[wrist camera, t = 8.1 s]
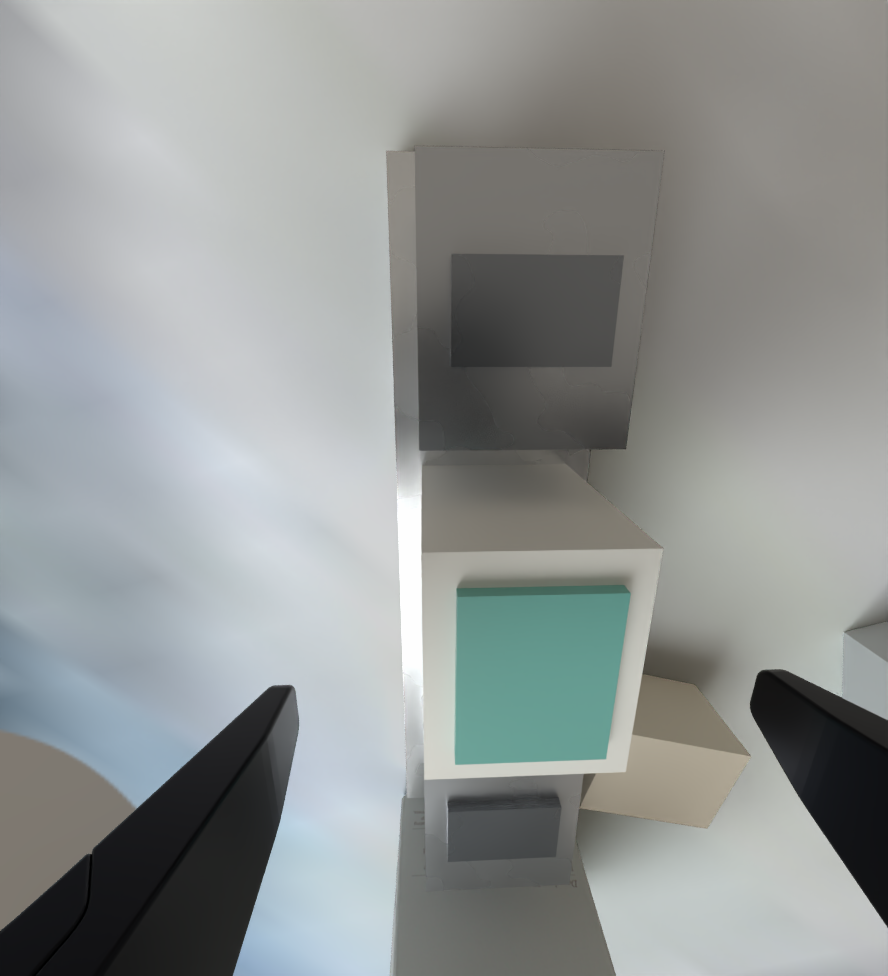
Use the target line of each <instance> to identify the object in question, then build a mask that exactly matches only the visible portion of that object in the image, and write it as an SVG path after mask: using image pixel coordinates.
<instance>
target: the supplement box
mask: <svg viewBox="0 0 888 976" xmlns="http://www.w3.org/2000/svg"><path fill="white" fill-rule="evenodd" d="M390 976H616V974H615V971H614V967H613V964H612V961H611V957H610V954H609V951H608V947H607V944H606V940H605V937H604V934H603V930H602V927H601V924H600V920H599V917H598V914H597V910H596V907H595V904H594V900H593V897H592V894H591V890H590V887H589V883H588V880H587V877H586V873H585V870H584V867H583V863H582V859H581V856H580V853H579V850H578V846H577V843H576V840H575V845H574V852H573V860H572V868H571V875H570V883H569V885H549V886H529V887H509V888H489V889H469V890H449V891H429V892H426V860H425V798H407V794H406V795H405V796H404V797H403V798H402V804H401V819H400V834H399V848H398V862H397V876H396V889H395V903H394V916H393V932H392V947H391V962H390Z"/></svg>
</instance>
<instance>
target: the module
mask: <svg viewBox="0 0 888 976" xmlns="http://www.w3.org/2000/svg"><path fill="white" fill-rule="evenodd" d="M662 554H663V548H662V547H661V546H660V545H659V544H658V543H657V542H655V541H654V540H653V539H652V538H651V537H650V536H648V535H647V534H646V533H645V532H644V531H643V530H642V529H640V528H639V527H638V526H637V525H636V524H635V523H633V522H632V521H631V520H630V519H629V518H628V517H627V516H625V515H624V514H623V513H622V512H621V511H620V510H618V509H617V508H616V507H615V506H614V505H613V504H612V503H610V502H609V501H608V500H607V499H606V498H605V497H603V496H602V495H601V494H600V493H599V492H598V491H597V490H595V489H594V488H593V487H592V486H591V485H590V484H588V483H587V482H586V481H585V480H584V479H583V478H582V477H580V476H579V475H578V474H577V473H576V472H575V471H573V470H572V469H571V468H570V467H569V466H568V465H567V464H538V465H425V466H422V497H421V585H422V656H423V727H424V780H433V779H459V778H485V777H510V776H536V775H562V774H588V773H613V772H626V767H627V761H628V755H629V749H630V743H631V737H632V731H633V726H634V720H635V714H636V708H637V702H638V696H639V690H640V684H641V678H642V672H643V666H644V661H645V655H646V649H647V643H648V637H649V631H650V625H651V619H652V613H653V607H654V601H655V596H656V590H657V584H658V578H659V572H660V566H661V560H662Z"/></svg>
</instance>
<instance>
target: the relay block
mask: <svg viewBox="0 0 888 976" xmlns="http://www.w3.org/2000/svg"><path fill="white" fill-rule="evenodd" d="M842 698H843V699H845V700H847V701H850V702H852V703H854V704H856V705H858V706H860V707H862V708H864V709H866V710H868V711H870V712H872V713H874V714H876V715H878V716H880V717H882V718H884V719H887V720H888V621H887V622H883V623H878V624H874V625H870V626H866V627H862V628H858V629H854V630H850V631H846V632H844V638H843V680H842Z"/></svg>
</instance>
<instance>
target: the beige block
mask: <svg viewBox="0 0 888 976" xmlns="http://www.w3.org/2000/svg"><path fill="white" fill-rule="evenodd" d="M750 758H751V756H750V754H749V753H748V752H747V750H746V749H745V748H744V747H743V745H742V744H741V743H740V742H739V740H738V739H737V738H736V736H735V735H734V734H733V733H732V731H731V730H730V729H729V727H728V726H727V725H726V724H725V722H724V721H723V720H722V719H721V717H720V716H719V715H718V713H717V712H716V711H715V710H714V708H713V707H712V706H711V705H710V703H709V702H708V701H707V699H706V698H705V697H704V696H703V694H702V693H701V692H700V691H699V689H698V688H697V687H696V685H694V684H689V683H684V682H679V681H674V680H669V679H664V678H659V677H654V676H650V675H645V674H642V678H641V684H640V690H639V696H638V702H637V708H636V714H635V720H634V726H633V731H632V737H631V743H630V749H629V755H628V761H627V767H626V772H613V773H588V774H584V775H583V783H582V791H581V798H580V806H579V808H581V809H588V810H594V811H600V812H606V813H613V814H619V815H625V816H631V817H638V818H644V819H650V820H656V821H663V822H669V823H675V824H681V825H688V826H694V827H700V828H706V829H707V828H708V826H709V825H710V823H711V822H712V820H713V818H714V817H715V815H716V813H717V812H718V810H719V808H720V807H721V805H722V804H723V802H724V800H725V799H726V797H727V795H728V794H729V792H730V790H731V789H732V787H733V786H734V784H735V782H736V781H737V779H738V777H739V776H740V774H741V772H742V771H743V769H744V768H745V766H746V764H747V763H748V761H749V759H750Z"/></svg>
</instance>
